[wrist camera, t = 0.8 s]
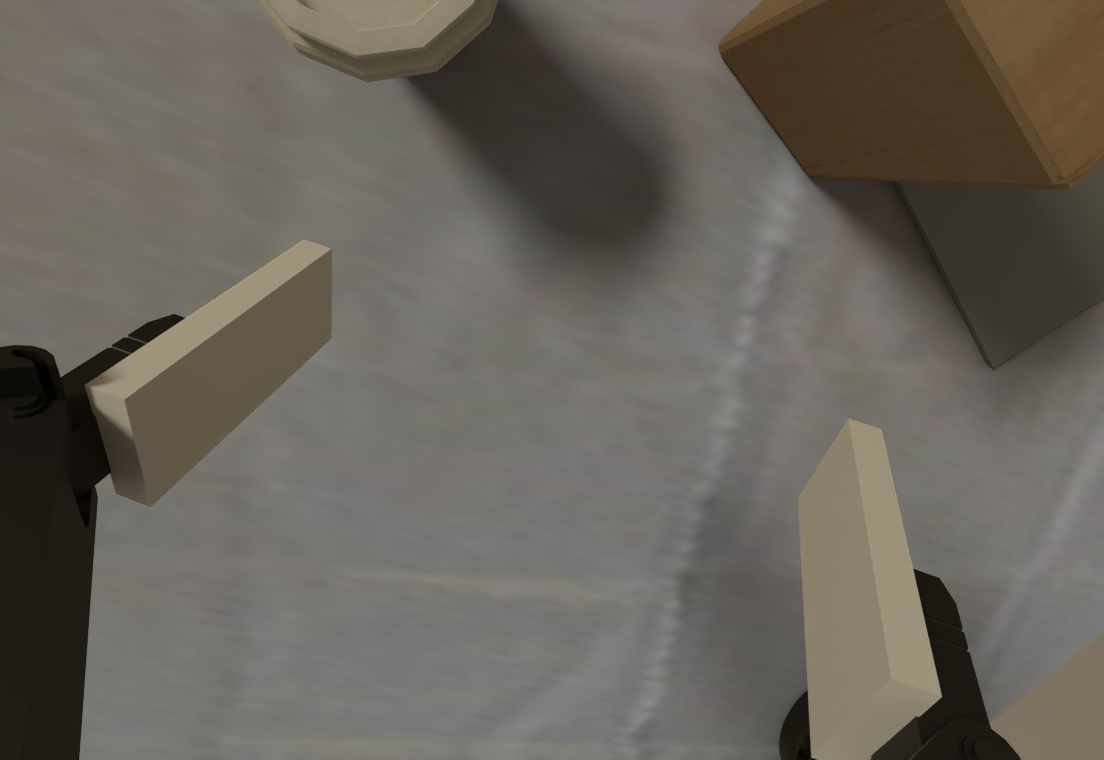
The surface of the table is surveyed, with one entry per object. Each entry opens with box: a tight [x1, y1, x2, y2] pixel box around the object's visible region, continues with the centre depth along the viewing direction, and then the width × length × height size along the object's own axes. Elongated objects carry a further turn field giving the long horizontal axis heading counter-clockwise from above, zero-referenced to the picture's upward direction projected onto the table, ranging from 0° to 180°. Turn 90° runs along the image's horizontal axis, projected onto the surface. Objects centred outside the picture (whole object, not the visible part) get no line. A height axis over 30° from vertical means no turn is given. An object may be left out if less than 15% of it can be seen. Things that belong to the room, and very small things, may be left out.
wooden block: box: [719, 0, 1104, 190], centre depth 29 cm, size 10×10×20 cm
